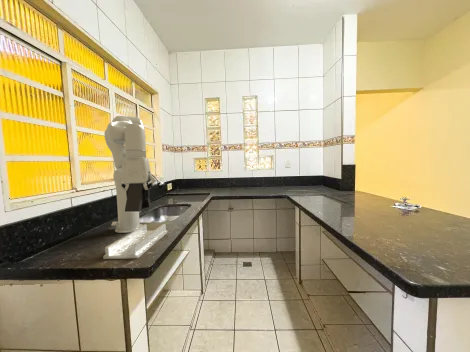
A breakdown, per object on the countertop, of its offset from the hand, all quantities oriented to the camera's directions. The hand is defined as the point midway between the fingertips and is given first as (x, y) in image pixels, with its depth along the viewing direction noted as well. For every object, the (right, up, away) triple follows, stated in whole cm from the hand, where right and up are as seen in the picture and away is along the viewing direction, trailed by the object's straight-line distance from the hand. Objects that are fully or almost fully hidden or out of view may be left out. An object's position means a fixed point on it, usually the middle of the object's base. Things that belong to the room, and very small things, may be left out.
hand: (138, 199), depth 82 cm
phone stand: (0, -4, 0) cm, 4 cm away
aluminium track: (+1, -18, +1) cm, 18 cm away
